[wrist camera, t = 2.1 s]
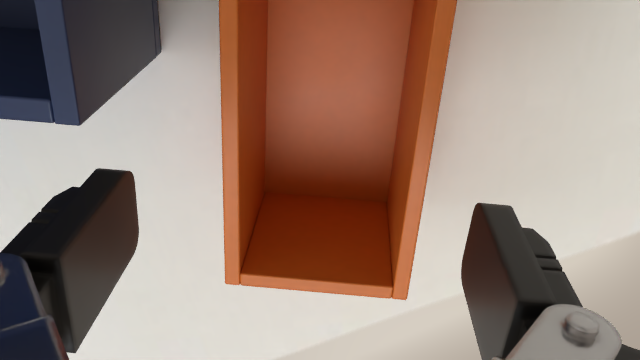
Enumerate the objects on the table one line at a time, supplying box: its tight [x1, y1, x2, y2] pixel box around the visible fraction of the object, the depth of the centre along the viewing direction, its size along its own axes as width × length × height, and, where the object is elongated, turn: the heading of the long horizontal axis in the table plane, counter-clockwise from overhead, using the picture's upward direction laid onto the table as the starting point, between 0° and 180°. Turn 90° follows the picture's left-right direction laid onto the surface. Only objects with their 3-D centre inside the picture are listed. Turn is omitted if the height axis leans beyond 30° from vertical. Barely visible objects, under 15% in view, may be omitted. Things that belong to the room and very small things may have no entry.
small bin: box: [219, 0, 457, 300], centre depth 19 cm, size 6×10×6 cm, turn 177°
